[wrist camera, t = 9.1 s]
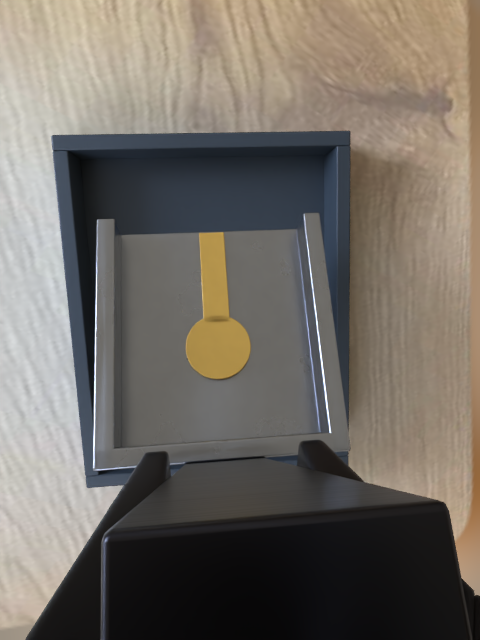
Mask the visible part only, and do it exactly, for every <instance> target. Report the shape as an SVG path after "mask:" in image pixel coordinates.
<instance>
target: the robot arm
mask: <svg viewBox="0 0 480 640" xmlns="http://www.w3.org/2000/svg"><path fill="white" fill-rule="evenodd" d="M297 466H299V467H303V468H307V469H311V470H315V471H320V472H324V473H328V474H332V475H336V476H340V477H344V478H348V479H353V480H357V481H361V482H364V481H363V480H362V479H361V478H360V477H359V476H358V475H357V474H356V473H355V472H354V471H353V470H352V469H351V468H350V467H349V466H348V465H347V464H346V463H345V462H344V461H343V460H342V459H341V458H340V457H339V456H338V455H337V454H336V453H335V452H334V451H333V450H332V449H331V448H330V447H329V446H328V445H327V444H326V443H325V442H323V441H322V440H305V441H301V442H300V444H299V447H298V459H297ZM170 477H171V470H170V461H169V454H168V452H166V451H156V452H147V453H145V454H144V455H143V457H142V458H141V460H140V461H139V463H138V464H137V466H136V468H135V469H134V471H133V472H132V474H131V475H130V477H129V478H128V480H127V482H126V483H125V485H124V486H123V488H122V489H121V491H120V492H119V494H118V496H117V497H116V499H115V500H114V502H113V503H112V505H111V506H110V508H109V510H108V511H107V513H106V514H105V516H104V517H103V519H102V520H101V522H100V524H99V525H98V527H97V528H96V530H95V531H94V533H93V534H92V536H91V538H90V539H89V541H88V542H87V544H86V545H85V547H84V548H83V550H82V552H81V553H80V555H79V556H78V558H77V559H76V561H75V562H74V564H73V566H72V567H71V569H70V570H69V572H68V573H67V575H66V576H65V578H64V580H63V581H62V583H61V584H60V586H59V587H58V589H57V590H56V592H55V594H54V595H53V597H52V598H51V600H50V601H49V603H48V604H47V606H46V608H45V609H44V611H43V612H42V614H41V615H40V617H39V618H38V620H37V622H36V623H35V625H34V626H33V628H32V629H31V631H30V632H29V634H28V636H27V637H26V640H101V547H102V539H103V536H104V534H105V532H107V531H108V530H109V529H110V528H111V527H112V526H114V525H115V524H116V523H117V522H118V521H119V520H121V519H122V518H123V517H124V516H125V515H126V514H128V513H129V512H130V511H131V510H132V509H133V508H135V507H136V506H137V505H138V504H139V503H140V502H142V501H143V500H144V499H145V498H146V497H148V496H149V495H150V494H151V493H152V492H153V491H155V490H156V489H157V488H158V487H159V486H160V485H162V484H163V483H164V482H165V481H166V480H168V479H169V478H170ZM461 579H462V578H461ZM462 585H463V590H464V596H465V601H466V607H467V612H468V618H469V623H470V628H471V634H472V639H473V640H480V596H478V595H475V596H474V590H473V589H472V588H471V587H470V586H469V585H468V584H467V583H466V582H465V581H464V580H463V579H462Z"/></svg>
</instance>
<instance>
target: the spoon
mask: <svg viewBox="0 0 480 640" xmlns="http://www.w3.org/2000/svg"><path fill="white" fill-rule="evenodd" d="M199 242H200V261H201V280H202V300H203V319H202V320H200V321H199V322H197V323H196V324H195V325H194V326H193V327H192V329H191V330H190V332H189V334H188V336H187V339H186V355H187V358H188V361H189V363H190V365H191V366H192V368H193V369H194V370H195V371H196V372H197V373H199V374H200V375H202V376H203V377H206V378H209V379H213V380H223V379H228V378H230V377H233V376H235V375H236V374H238V373H239V372H240V371H241V370H242V369H243V368H244V367H245V365H246V363H247V362H248V359H249V357H250V353H251V342H250V338H249V335H248V333H247V331H246V329H245V328H244V327H243V326H242V325H241V324H240V323H239V322H238V321H236V320H235V319H233V318H231V317H230V313H229V298H228V283H227V269H226V254H225V239H224V232H216V233H199Z"/></svg>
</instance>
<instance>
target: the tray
mask: <svg viewBox="0 0 480 640" xmlns="http://www.w3.org/2000/svg"><path fill="white" fill-rule="evenodd" d="M51 139H52V149H53V161H54V170H55V180H56V190H57V200H58V210H59V220H60V229H61V239H62V249H63V259H64V269H65V279H66V289H67V298H68V308H69V318H70V328H71V338H72V348H73V357H74V367H75V377H76V387H77V397H78V407H79V417H80V426H81V436H82V446H83V456H84V466H85V475H86V484H87V488H93V487H105V486H118V485H125V483H126V482H127V480H128V478H129V477H130V475H131V474H132V472H133V471H134V469H135V468H126V469H113V470H100V471H94V470H93V433H94V368H95V304H96V239H97V220H98V219H115V222H116V224H117V226H118V229H119V231H120V234H121V235H137V234H166V233H196V232H225V231H255V230H284V229H297V228H298V225H299V223H300V220H301V218H302V215H303V214H304V213H319V215H320V222H321V230H322V237H323V245H324V252H325V260H326V267H327V275H328V282H329V290H330V298H331V305H332V313H333V320H334V328H335V335H336V343H337V350H338V358H339V365H340V373H341V380H342V388H343V396H344V403H345V411H346V418H347V426H348V433H349V283H350V131H309V132H240V133H170V134H101V135H52V136H51ZM335 453H336V454H337V455H338V456H339V457H340V458H341V459H342V460H343V461H344V462H345V463H346V464H347V465H348V451H344V452H335ZM266 459H270V460H274V461H278V462H283V463H287V464H291V465H295V466H297V459H298V455H292V456H280V457H267V458H266ZM184 465H185V464H177V465H170V470H171V476H172V475H173V474H174V473H176V472H177V471H178V470H179V469H180V468H182V467H183V466H184Z"/></svg>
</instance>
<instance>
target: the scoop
mask: <svg viewBox="0 0 480 640" xmlns="http://www.w3.org/2000/svg"><path fill="white" fill-rule="evenodd" d="M199 233H216V232H196V233H166V234H137V235H121V234H120V231H119V229H118V226H117V224H116V222H115V219H98V220H97V239H96V304H95V368H94V433H93V470H94V471H100V470H113V469H126V468H136V466H137V464H138V463H139V461H140V460H141V458H142V457H143V455H144V454H145V453H147V452H156V451H166V452H168V454H169V461H170V465H177V464H185V465H184V466H183V467H182V468H180V469H179V470H178V471H177V472H176V473H174V474H173V475H172V476H171V477H170V478H169V479H168V480H166V481H165V482H164V483H163V484H162V485H160V486H159V487H158V488H157V489H156V490H155V491H153V492H152V493H151V494H150V495H149V496H148V497H146V498H145V499H144V500H143V501H142V502H140V503H139V504H138V505H137V506H136V507H135V508H133V509H132V510H131V511H130V512H129V513H128V514H126V515H125V516H124V517H123V518H122V519H121V520H119V521H118V522H117V523H116V524H115V525H114V526H112V527H111V528H110V529H109V530H108V531H107V532H105V534H104V536H103V539H102V547H101V640H473V639H472V634H471V628H470V623H469V618H468V612H467V607H466V601H465V596H464V590H463V585H462V579H461V574H460V569H459V563H458V558H457V552H456V547H455V541H454V536H453V530H452V525H451V519H450V514H449V510H448V508H447V506H446V504H445V503H444V502H441V501H438V500H435V499H431V498H427V497H422V496H418V495H414V494H410V493H406V492H402V491H398V490H394V489H390V488H385V487H381V486H377V485H373V484H369V483H365V482H361V481H357V480H353V479H348V478H344V477H340V476H336V475H332V474H328V473H324V472H320V471H315V470H311V469H307V468H303V467H299V466H295V465H291V464H287V463H283V462H278V461H274V460H270V459H266V458H267V457H280V456H292V455H298V447H299V444H300V442H301V441H305V440H322V441H323V442H325V443H326V444H327V445H328V446H329V447H330V448H331V449H332V450H333V451H334V452H344V451H350V449H351V448H350V440H349V433H348V426H347V418H346V411H345V403H344V396H343V388H342V380H341V373H340V365H339V358H338V350H337V343H336V335H335V328H334V320H333V313H332V305H331V298H330V290H329V282H328V275H327V267H326V260H325V252H324V245H323V237H322V230H321V222H320V215H319V213H304V214H303V215H302V218H301V220H300V223H299V225H298V228H297V229H284V230H255V231H225V232H224V239H225V254H226V269H227V283H228V298H229V313H230V317H231V318H233V319H235V320H236V321H238V322H239V323H240V324H241V325H242V326H243V327H244V328H245V329H246V331H247V333H248V335H249V338H250V342H251V353H250V357H249V359H248V362H247V363H246V365H245V367H244V368H243V369H242V370H241V371H240V372H239V373H238V374H236V375H235V376H233V377H230V378H228V379H223V380H213V379H209V378H206V377H203V376H202V375H200V374H199V373H197V372H196V371H195V370H194V369H193V368H192V366H191V365H190V363H189V361H188V358H187V355H186V339H187V336H188V334H189V332H190V330H191V329H192V327H193V326H194V325H195V324H196V323H197V322H199V321H200V320H202V319H203V300H202V280H201V261H200V242H199Z"/></svg>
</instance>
